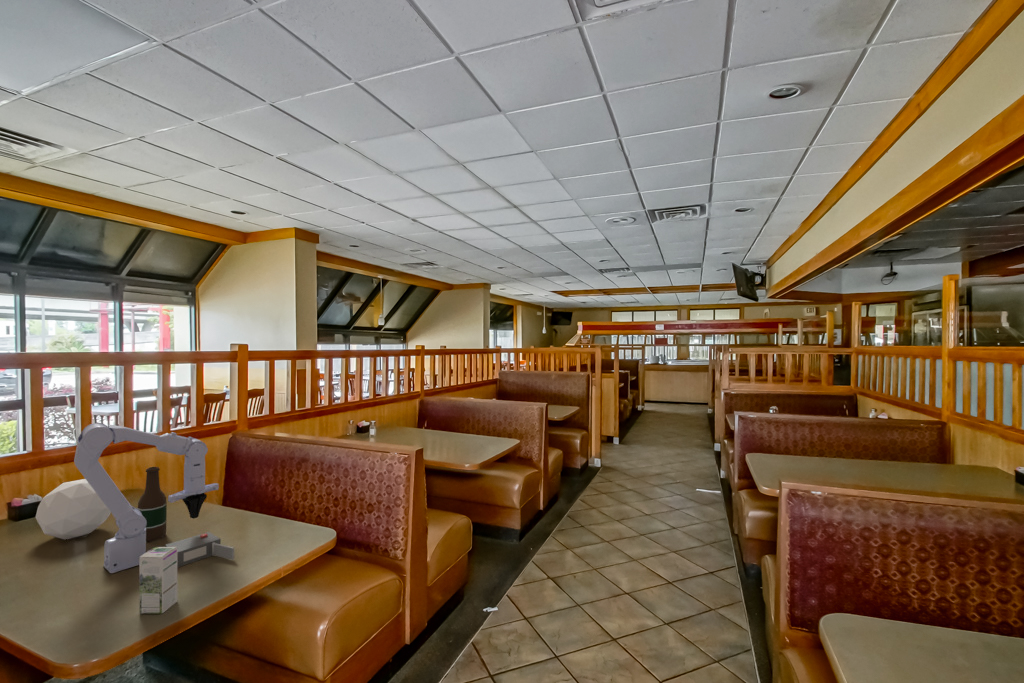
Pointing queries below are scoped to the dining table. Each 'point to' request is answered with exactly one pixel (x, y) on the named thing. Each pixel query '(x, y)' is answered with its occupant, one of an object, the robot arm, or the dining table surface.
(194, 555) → the camera body
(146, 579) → the syrup box
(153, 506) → the beer bottle
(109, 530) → the dining table surface
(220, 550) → the side door
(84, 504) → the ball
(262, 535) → the dining table surface
